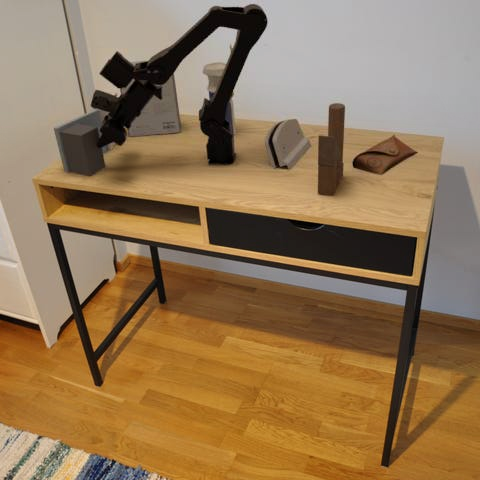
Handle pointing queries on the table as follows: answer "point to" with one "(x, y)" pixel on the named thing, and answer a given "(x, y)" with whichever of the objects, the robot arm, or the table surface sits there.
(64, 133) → the doorstop block
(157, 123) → the hard drive box
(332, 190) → the wooden block
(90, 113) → the door
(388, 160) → the sunglasses case
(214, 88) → the water bottle
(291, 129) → the hinge
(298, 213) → the table surface
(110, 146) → the wall frame
